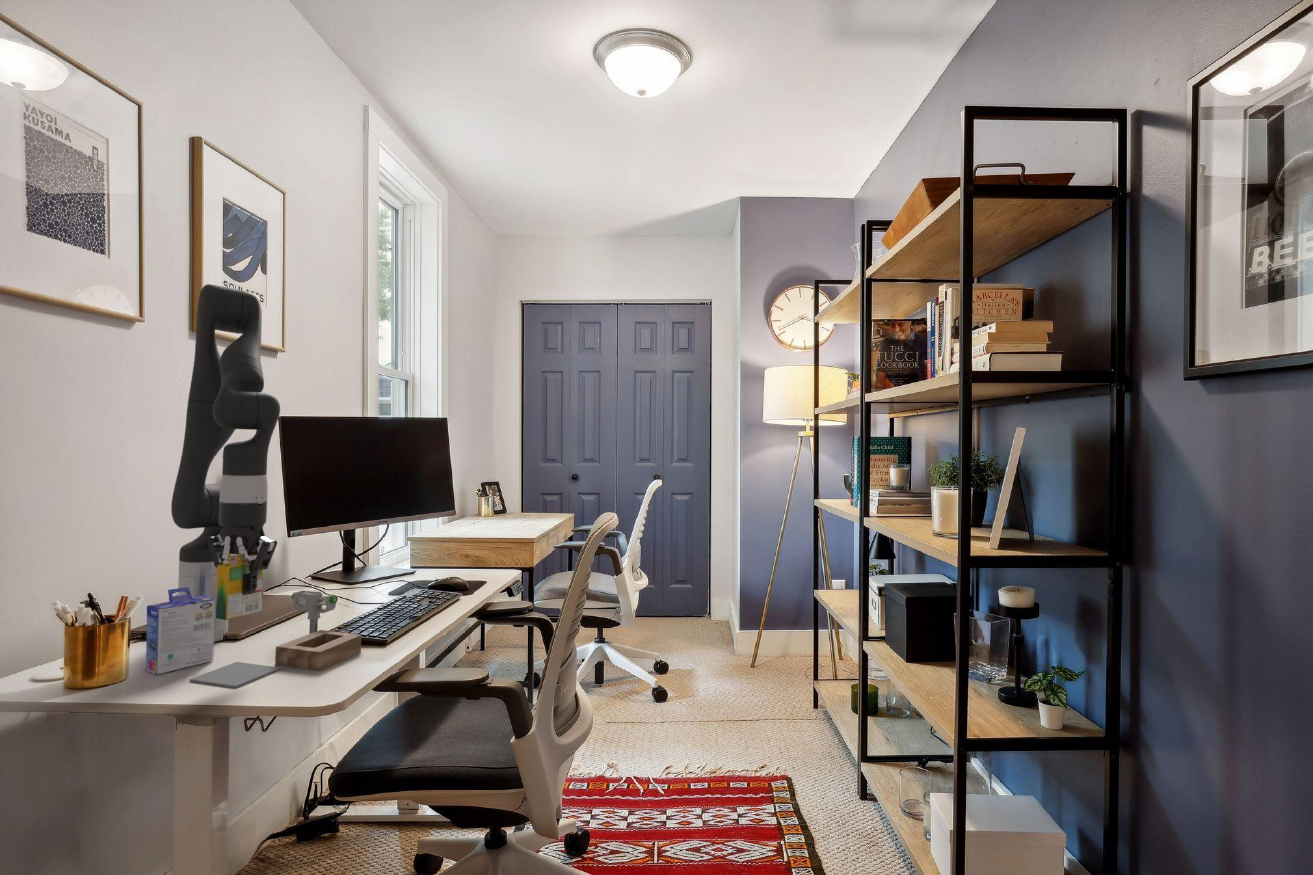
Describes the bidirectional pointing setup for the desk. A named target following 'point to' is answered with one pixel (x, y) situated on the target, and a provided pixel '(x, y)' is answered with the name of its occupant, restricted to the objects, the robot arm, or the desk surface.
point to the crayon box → (236, 591)
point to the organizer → (318, 650)
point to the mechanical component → (313, 605)
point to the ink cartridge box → (179, 632)
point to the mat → (235, 674)
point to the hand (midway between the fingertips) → (240, 591)
